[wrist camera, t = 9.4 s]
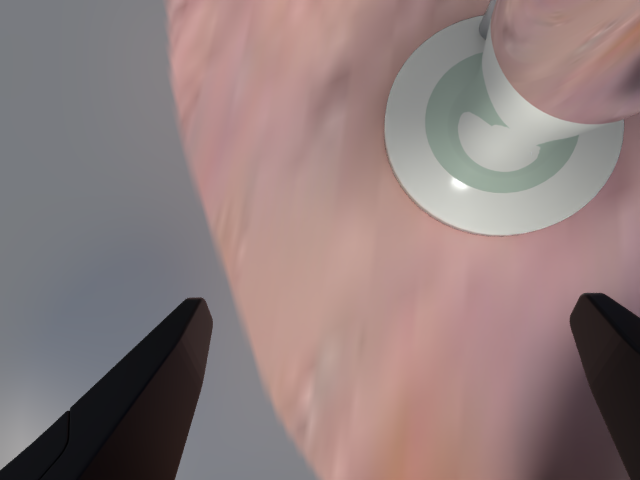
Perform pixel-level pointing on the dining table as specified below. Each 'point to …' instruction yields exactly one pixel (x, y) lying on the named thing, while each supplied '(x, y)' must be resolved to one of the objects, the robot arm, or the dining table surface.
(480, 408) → the dining table surface
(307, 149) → the dining table surface
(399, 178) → the grey peg stand
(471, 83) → the beer glass
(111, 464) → the robot arm
